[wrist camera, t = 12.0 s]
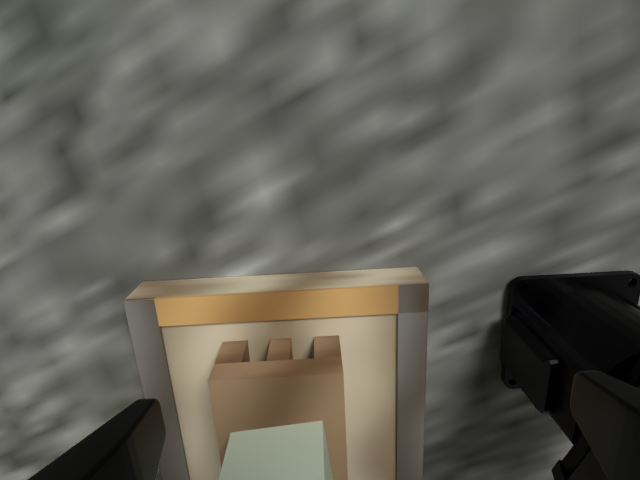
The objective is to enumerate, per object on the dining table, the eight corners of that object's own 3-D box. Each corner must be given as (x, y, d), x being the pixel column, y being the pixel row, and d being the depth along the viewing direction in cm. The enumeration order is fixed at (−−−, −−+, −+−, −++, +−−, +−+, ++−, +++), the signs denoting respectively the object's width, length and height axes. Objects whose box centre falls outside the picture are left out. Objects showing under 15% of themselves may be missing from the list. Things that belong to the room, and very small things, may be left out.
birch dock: (417, 266, 21) (429, 284, 19) (412, 479, 25) (421, 513, 23) (142, 281, 21) (123, 301, 19) (184, 492, 25) (172, 526, 23)
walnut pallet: (338, 335, 20) (343, 373, 17) (345, 479, 22) (350, 534, 20) (222, 341, 20) (207, 381, 17) (243, 485, 22) (233, 540, 20)
